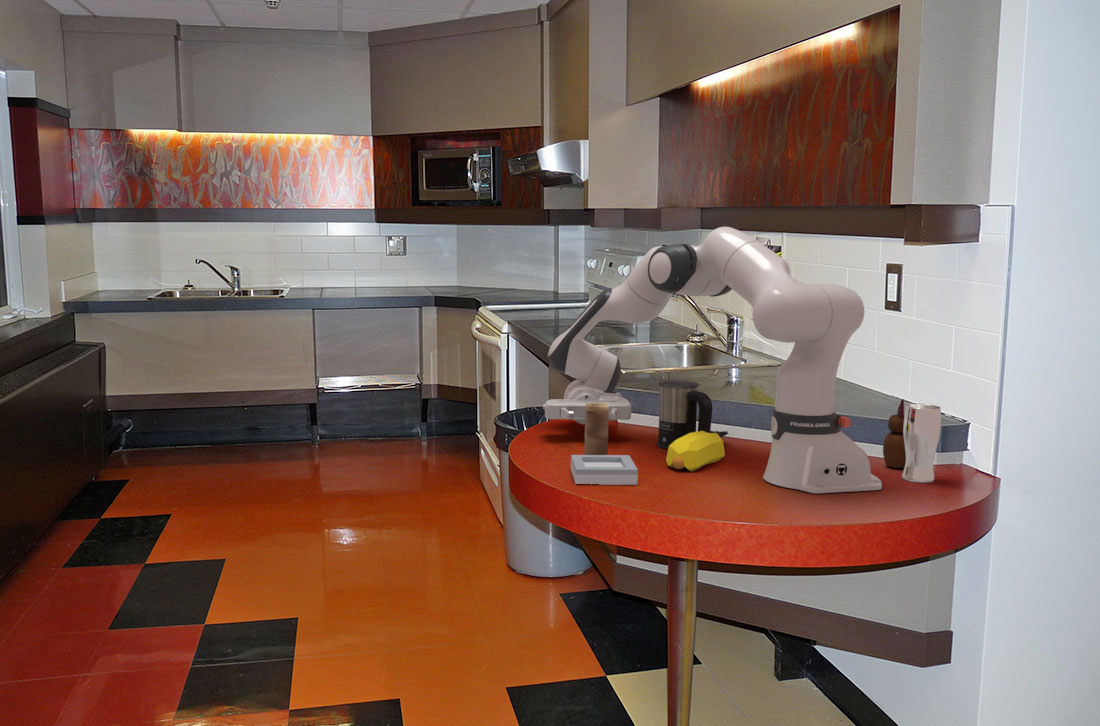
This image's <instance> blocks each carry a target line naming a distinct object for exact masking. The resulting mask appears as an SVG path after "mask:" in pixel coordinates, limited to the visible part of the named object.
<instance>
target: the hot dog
mask: <svg viewBox="0 0 1100 726" xmlns="http://www.w3.org/2000/svg"><path fill="white" fill-rule="evenodd" d="M725 453H726V452H725V446H724V440H723V439H722V437H721V438H720V436H719V435H718V434H717V433H707V432H705V431H698V430H697V431H696V432H693V433H689V434H687V435H685V436H683V437H681V438H679V439H677V440H675V441H674V442H673V443H672V444H671V445H669V448H668V449H667V453H666V459H665V461H666V463H667V465H668V467H669V468H671V469H676V470H683V469H684V468H686V469H687V470H689V471H690V472H694V471H696V470H698V469H700V468H702V467H703V466H705V465H708V464H712V463H716V462H719V461H721V460H722V458H724V457H725V456H726V454H725Z"/></svg>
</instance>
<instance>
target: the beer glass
mask: <svg viewBox="0 0 1100 726" xmlns="http://www.w3.org/2000/svg"><path fill="white" fill-rule="evenodd" d="M941 410H942V407H941V406H938V405H935V404H929V403H916V402H915V403H907V404H905V408H904V423H903V438H904V447H905V467H904V468H903V471H902V475H901V478H902V479H903V480H906V481H908V482H912V483H919V484H920V483H921V484H928V483H934V481H935V474H934V461H935V456H936V452H937V449H938V446H939V445H938V444H939V441H940V436H941V431H942V430H941V429H942V428H941V426H942V425H941V424H942V413H941V412H942V411H941Z"/></svg>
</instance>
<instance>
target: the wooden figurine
mask: <svg viewBox="0 0 1100 726" xmlns="http://www.w3.org/2000/svg"><path fill="white" fill-rule="evenodd" d="M904 406H905V399H904V398H902V399H900V403H899V405H898V408H897V411H896V412H897V413H896V414H892V415H891V416H890V417H889V418H888V423H887V428H888V430H889V431H890V432H888V433H887V434H886V435H885V438H884V440H883V444H882V455H883V456H882V457H883V459H884V464H885V465H886V466H888V468H891V467H893V468H892V469H895V468H903V469H904V467H905V447H904V438H903V423H904V415H905V407H904Z"/></svg>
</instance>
